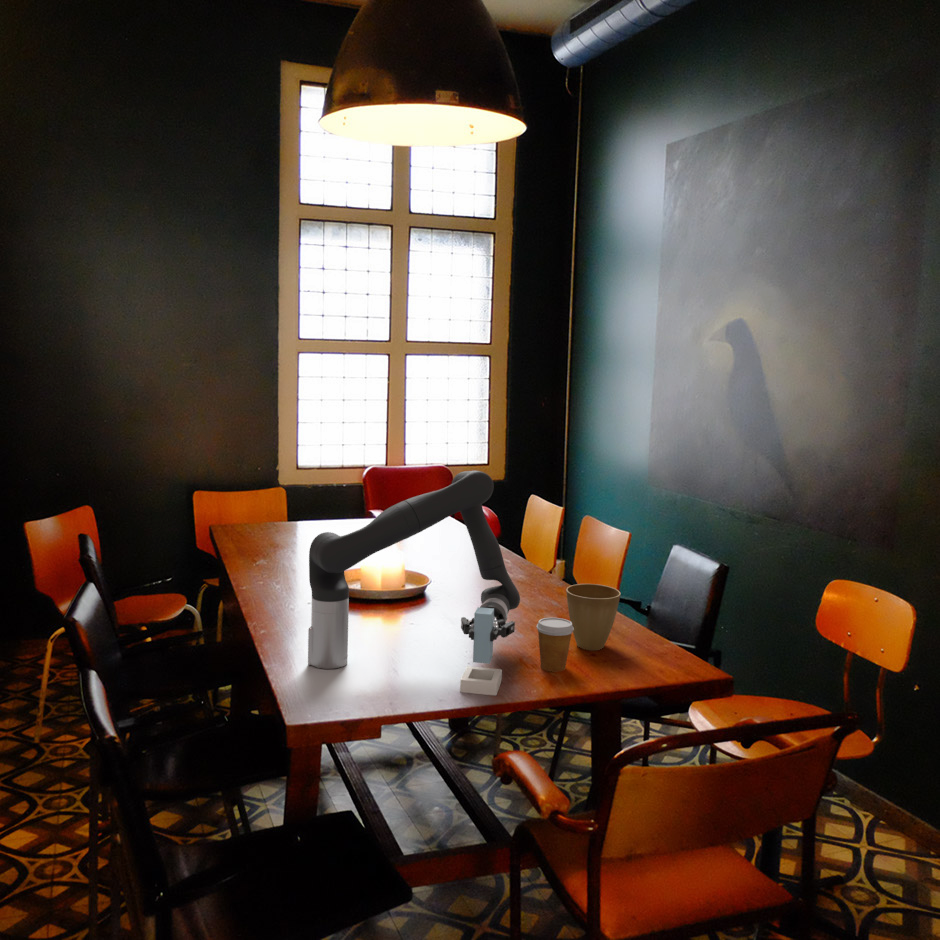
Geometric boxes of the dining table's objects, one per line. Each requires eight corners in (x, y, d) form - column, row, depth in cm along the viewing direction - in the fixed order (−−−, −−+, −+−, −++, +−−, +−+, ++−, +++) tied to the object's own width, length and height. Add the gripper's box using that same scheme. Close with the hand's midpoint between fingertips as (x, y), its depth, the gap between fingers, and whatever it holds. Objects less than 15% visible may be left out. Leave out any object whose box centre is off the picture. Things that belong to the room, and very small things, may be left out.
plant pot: (554, 640, 247) (557, 585, 245) (600, 636, 252) (603, 582, 250) (578, 657, 233) (582, 599, 231) (627, 652, 239) (630, 595, 237)
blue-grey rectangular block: (472, 662, 207) (474, 613, 205) (476, 655, 212) (477, 607, 210) (489, 663, 206) (491, 614, 204) (492, 656, 211) (494, 608, 209)
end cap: (460, 692, 205) (460, 679, 205) (466, 677, 215) (467, 666, 214) (496, 695, 204) (496, 683, 204) (501, 681, 213) (501, 669, 213)
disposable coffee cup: (568, 661, 230) (571, 617, 228) (574, 674, 220) (576, 628, 219) (532, 660, 229) (534, 616, 228) (536, 673, 220) (538, 627, 218)
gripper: (464, 599, 223) (452, 618, 206) (520, 603, 220) (512, 623, 204) (463, 627, 224) (451, 649, 207) (519, 632, 221) (511, 654, 205)
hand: (482, 636), depth 205 cm, fingers closed on blue-grey rectangular block, 4 cm apart
